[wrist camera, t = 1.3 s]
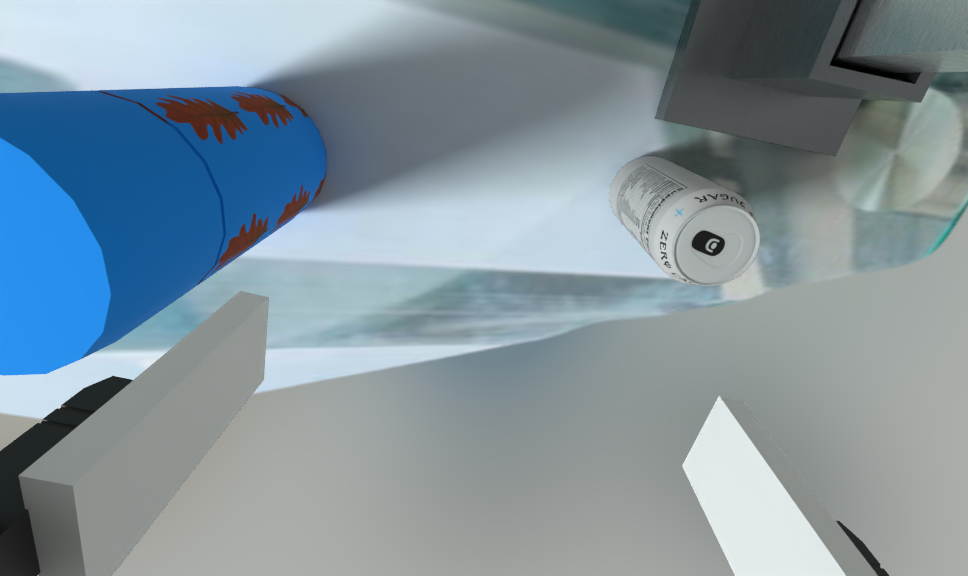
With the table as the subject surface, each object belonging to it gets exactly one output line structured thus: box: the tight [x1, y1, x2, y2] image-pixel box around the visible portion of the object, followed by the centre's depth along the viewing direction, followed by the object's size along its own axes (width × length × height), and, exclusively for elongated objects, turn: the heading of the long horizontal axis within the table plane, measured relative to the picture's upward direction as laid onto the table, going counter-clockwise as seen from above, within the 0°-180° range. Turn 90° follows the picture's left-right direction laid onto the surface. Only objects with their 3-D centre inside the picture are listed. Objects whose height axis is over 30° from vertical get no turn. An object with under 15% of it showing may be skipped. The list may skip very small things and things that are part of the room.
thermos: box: [0, 86, 326, 375], centre depth 29 cm, size 11×11×25 cm
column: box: [830, 0, 968, 73], centre depth 24 cm, size 6×4×21 cm, turn 169°
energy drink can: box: [609, 156, 760, 286], centre depth 34 cm, size 6×6×15 cm
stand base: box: [655, 0, 937, 156], centre depth 30 cm, size 14×14×13 cm
